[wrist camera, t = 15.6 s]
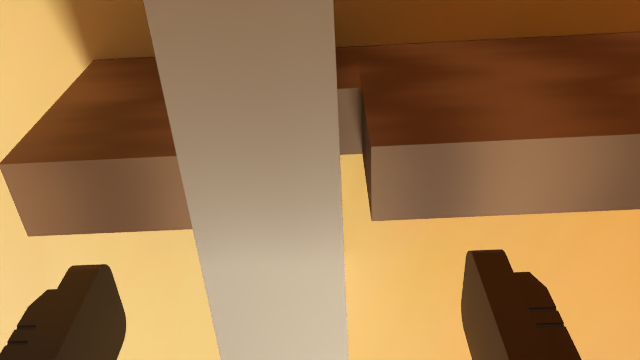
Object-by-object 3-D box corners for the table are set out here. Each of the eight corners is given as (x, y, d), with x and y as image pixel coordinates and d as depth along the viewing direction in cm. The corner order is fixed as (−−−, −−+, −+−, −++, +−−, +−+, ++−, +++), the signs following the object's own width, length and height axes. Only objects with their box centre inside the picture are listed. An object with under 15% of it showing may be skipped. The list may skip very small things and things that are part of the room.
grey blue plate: (241, -182, 18) (104, -177, 7) (320, -187, 18) (325, -191, 6) (289, 255, 28) (268, 578, 16) (340, 253, 28) (357, 575, 16)
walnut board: (767, 25, 22) (966, 118, 15) (744, 86, 23) (919, 196, 17) (93, 60, 23) (-2, 164, 16) (109, 117, 24) (27, 236, 17)
